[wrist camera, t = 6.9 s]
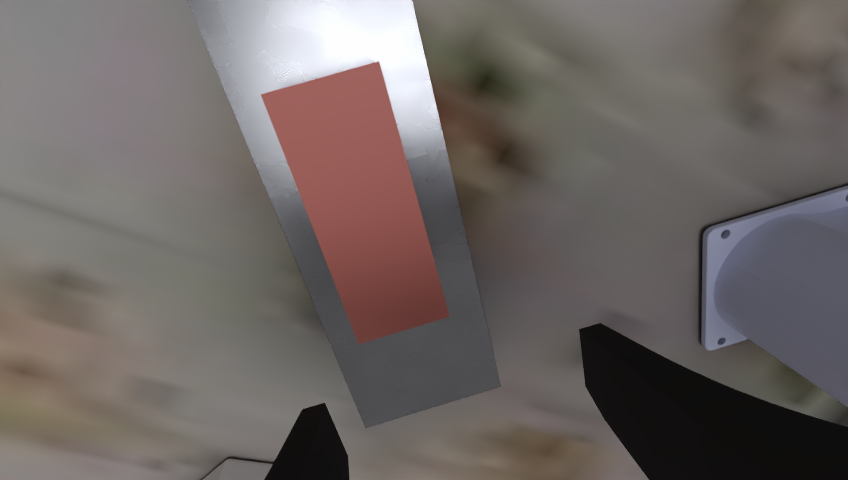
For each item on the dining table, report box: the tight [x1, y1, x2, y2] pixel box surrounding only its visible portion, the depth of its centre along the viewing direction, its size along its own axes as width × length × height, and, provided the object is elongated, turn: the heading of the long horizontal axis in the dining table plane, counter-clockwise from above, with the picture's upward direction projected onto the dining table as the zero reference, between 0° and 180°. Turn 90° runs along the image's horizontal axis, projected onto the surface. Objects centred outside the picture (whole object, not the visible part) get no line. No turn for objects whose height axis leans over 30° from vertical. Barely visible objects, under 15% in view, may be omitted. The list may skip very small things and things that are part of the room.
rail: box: [187, 0, 501, 428], centre depth 18 cm, size 7×22×2 cm, turn 14°
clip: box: [261, 61, 450, 344], centre depth 16 cm, size 4×9×5 cm, turn 14°
